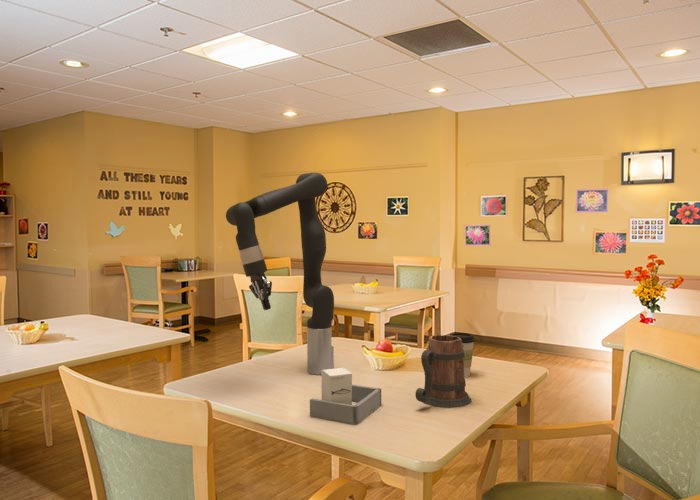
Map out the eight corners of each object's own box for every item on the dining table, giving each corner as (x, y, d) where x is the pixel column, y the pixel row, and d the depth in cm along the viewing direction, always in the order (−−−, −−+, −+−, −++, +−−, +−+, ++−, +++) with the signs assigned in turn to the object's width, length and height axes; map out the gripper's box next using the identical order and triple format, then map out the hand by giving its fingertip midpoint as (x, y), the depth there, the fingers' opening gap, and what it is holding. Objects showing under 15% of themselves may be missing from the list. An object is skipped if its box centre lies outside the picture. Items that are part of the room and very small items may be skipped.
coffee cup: (445, 377, 196) (445, 336, 196) (450, 370, 206) (450, 331, 205) (472, 380, 193) (472, 338, 192) (476, 372, 202) (476, 333, 201)
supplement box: (329, 418, 156) (328, 375, 155) (321, 410, 163) (320, 369, 162) (352, 415, 159) (352, 373, 158) (343, 406, 165) (343, 366, 165)
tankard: (437, 387, 184) (437, 330, 183) (481, 398, 173) (482, 337, 172) (395, 405, 167) (396, 341, 166) (442, 418, 156) (442, 350, 155)
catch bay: (309, 416, 158) (309, 399, 157) (338, 397, 174) (338, 382, 174) (356, 424, 151) (356, 407, 151) (381, 404, 168) (381, 388, 167)
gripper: (271, 255, 179) (286, 305, 180) (253, 260, 189) (267, 307, 190) (252, 261, 174) (267, 312, 175) (235, 265, 185) (249, 313, 186)
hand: (267, 309), depth 183 cm, fingers closed
